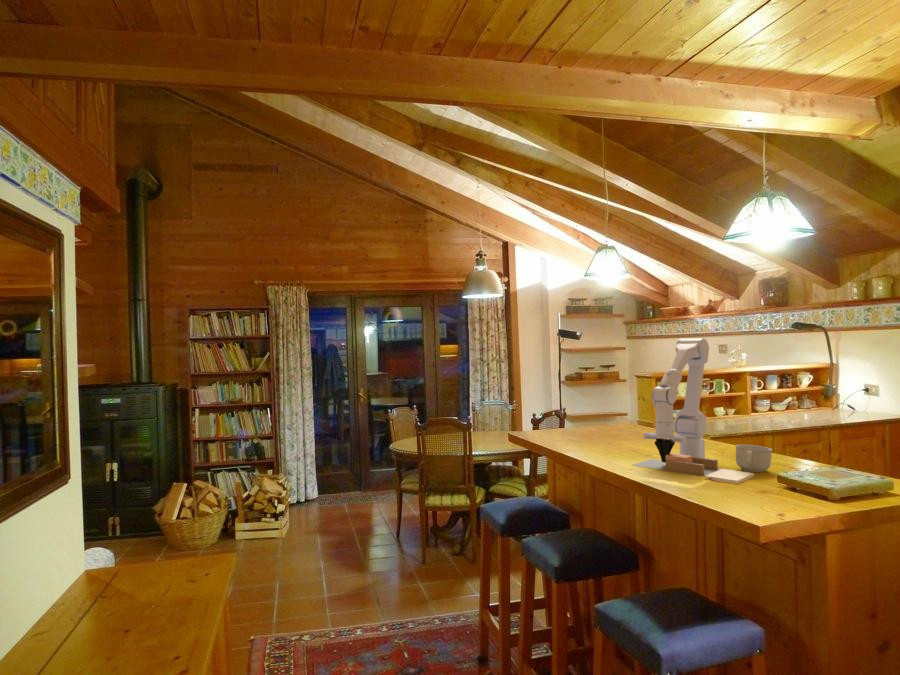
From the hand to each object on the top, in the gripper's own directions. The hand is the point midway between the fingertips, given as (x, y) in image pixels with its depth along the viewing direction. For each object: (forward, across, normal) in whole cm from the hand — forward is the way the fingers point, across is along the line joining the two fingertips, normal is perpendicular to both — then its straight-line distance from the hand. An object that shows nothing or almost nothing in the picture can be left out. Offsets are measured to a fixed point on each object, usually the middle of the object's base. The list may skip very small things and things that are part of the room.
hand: (665, 461), depth 209 cm
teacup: (+2, +23, +14) cm, 27 cm away
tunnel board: (+2, +9, 0) cm, 10 cm away
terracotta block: (+1, +5, 0) cm, 5 cm away
